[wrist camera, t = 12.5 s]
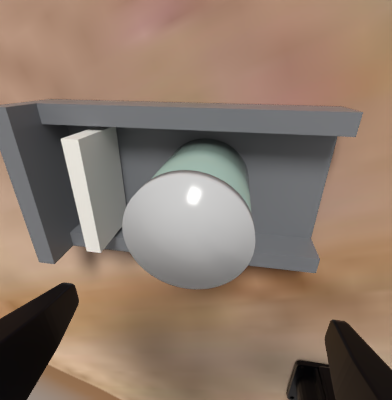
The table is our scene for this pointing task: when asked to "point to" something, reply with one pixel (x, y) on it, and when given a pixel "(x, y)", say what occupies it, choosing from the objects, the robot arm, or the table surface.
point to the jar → (193, 217)
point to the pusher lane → (163, 149)
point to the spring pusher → (96, 184)
